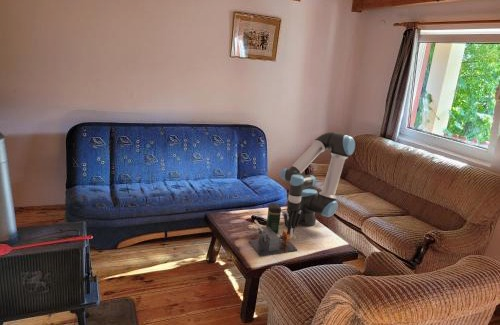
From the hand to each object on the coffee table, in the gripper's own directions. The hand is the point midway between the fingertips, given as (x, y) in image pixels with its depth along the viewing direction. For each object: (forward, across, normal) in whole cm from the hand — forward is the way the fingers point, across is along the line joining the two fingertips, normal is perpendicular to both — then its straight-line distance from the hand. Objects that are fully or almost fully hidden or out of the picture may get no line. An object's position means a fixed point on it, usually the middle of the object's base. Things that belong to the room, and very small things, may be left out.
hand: (289, 237), depth 213 cm
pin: (+2, +9, 0) cm, 10 cm away
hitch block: (+5, +11, 0) cm, 12 cm away
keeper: (-8, +21, 0) cm, 23 cm away
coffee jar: (+5, +3, -17) cm, 18 cm away
